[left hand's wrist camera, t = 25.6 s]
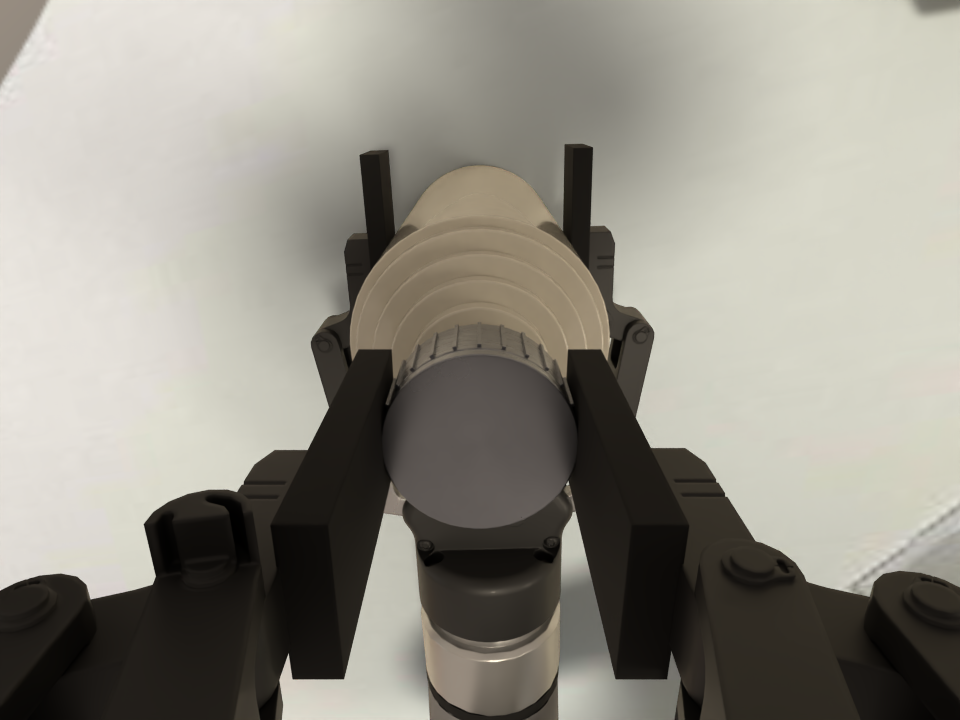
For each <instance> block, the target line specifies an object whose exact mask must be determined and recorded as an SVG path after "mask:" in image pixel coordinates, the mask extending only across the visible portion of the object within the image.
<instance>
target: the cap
mask: <svg viewBox="0 0 960 720" xmlns="http://www.w3.org/2000/svg"><path fill="white" fill-rule="evenodd" d="M574 406H575V405H574V402H573V398H572V395H571V392H570V389H569V386H568V383H567V380H566V377H564V378H563V377H562V375H561V372H560V368H559V365H558V362H557V360H556V359H554V360H553V359H552V358H551V357H550V355H549V354H548V353H547V352H546V351H545V350H544V346H543V345H542V344H541V343H540V344H537V343H536V342H534V341H533V340H532V339H530V338H529V337H527V336H526V335H525V333H524V332H521V333H519V332H517V331H514V330H511V329H509V328H505V327H504V325H502V324H500V326H496V325H487V324H481V322H477V324H471V325H464V326H459V325H455V328H451V329H448V330H446V331H443V332H441V333H437V332H435V333H434V335H433V337H431V338H429V339H428V340H426V341H425V342H424V343H422V344H421V345H419V344H417V345H416V347H415V351H414V352H413V353H412V354H411V355H410V356H409V357H408V359H407V360H406V361H405V360H403V361H402V363H401V366H400V370H399V373H398V376H397V379H396V378H394V379H393V382H392V385H391V388H390V391H389V394H388V397H387V400H386V403H385V407H386V408H387V410H386V413H385V416H384V420H383V424H382V446H383V461H384V465H385V468H386V470H387V473H388V475H389V477H390V479H391V481H392V482H393V484H394V486H395V487H396V488H397V490H398V491H399V492H400V494H401V495H402V496H403V497H404V498H405V499H406V500H407V501H408V502H409V503H410V504H411V505H413V506H414V507H415V508H417V509H418V510H419V511H421V512H422V513H424V514H426V515H427V516H429V517H431V518H434V519H436V520H438V521H440V522H443V523H446V524H449V525H453V526H458V527H463V528H473V529H488V528H496V527H502V526H506V525H510V524H513V523H516V522H519V521H522V520H524V519H526V518H528V517H530V516H532V515H534V514H536V513H537V512H539V511H540V510H542V509H543V508H545V507H546V506H547V505H548V504H549V503H550V502H552V501H553V500H554V499H555V498H556V496H557V495H558V494H559V493H560V492H561V491H562V489H563V488H564V486H565V485H566V484H567V482H568V480H569V478H570V476H571V474H572V472H573V470H574V467H575V464H576V456H577V441H578V426H577V422H576V418H575V414H574V411H573V408H572V407H574Z"/></svg>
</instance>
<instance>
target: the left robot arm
mask: <svg viewBox="0 0 960 720" xmlns="http://www.w3.org/2000/svg"><path fill="white" fill-rule="evenodd" d="M566 380H567V383H568V386H569V389H570V392H571V395H572V398H573V402H574V405H575V406H574V407H572V408H573V411H574V414H575V418H576V422H577V426H578V441H577V456H576V464H575V467H574V470H573V472H572V474H571V476H570V478H569V480H568V481H569V485H570V489H571V493H572V497H573V502H574V506H575V510H576V514H577V519H578V523H579V527H580V531H581V535H582V540H583V544H584V548H585V552H586V556H587V561H588V565H589V569H590V573H591V578H592V582H593V586H594V590H595V594H596V599H597V603H598V607H599V611H600V615H601V620H602V624H603V628H604V632H605V637H606V641H607V645H608V649H609V653H610V658H611V662H612V666H613V670H614V674H615V679H667V676H668V669H669V662H670V655H671V651H672V654H673V657H674V660H675V662H676V665H677V668H678V671H679V674H680V677H681V682H680V688H679V695H678V701H677V708H676V714H675V720H960V588H959V587H957V586H955V585H953V584H951V583H949V582H947V581H945V580H943V579H940V578H937V577H932V576H930V575H926V574H922V573H916V572H905V571H897V572H891V573H886V574H883V575H882V576H880V577H879V578H878V579H877V580H876V581H875V582H874V584H873V588H872V591H871V595H870V597H867V596H863V595H858V594H853V593H849V592H844V591H839V590H835V589H830V588H826V587H822V586H819V585H815V584H812V583H808V582H806V579H805V577H804V575H803V573H802V572H801V571H800V569H799V568H798V566H797V565H796V563H795V562H794V561H792V560H791V559H790V558H788V557H787V556H786V555H784V554H783V553H782V552H780V551H778V550H776V549H774V548H772V547H770V546H767V545H765V544H763V543H760V542H756V541H755V540H754V538H753V537H752V535H751V533H750V532H749V530H748V529H747V527H746V526H745V524H744V522H743V521H742V519H741V518H740V516H739V515H738V513H737V511H736V510H735V508H734V507H733V505H732V504H731V502H730V500H729V499H728V497H725V493H724V491H723V489H722V488H721V486H720V485H719V483H716V478H715V477H714V475H713V474H712V472H711V471H710V469H709V467H708V466H707V464H706V463H705V462H704V461H702V460H701V459H700V458H698V457H697V456H695V455H694V454H693V453H691V452H690V451H688V450H687V449H686V448H651V447H650V445H649V444H648V442H647V440H646V438H645V436H644V434H643V432H642V430H641V428H640V426H639V424H638V422H637V420H636V418H635V416H634V414H633V412H632V410H631V408H630V406H629V404H628V402H627V400H626V398H625V396H624V394H623V392H622V390H621V388H620V386H619V384H618V382H617V380H616V378H615V376H614V374H613V372H612V370H611V368H610V366H609V364H608V362H607V360H606V358H605V356H604V354H603V352H602V350H601V349H568V357H567V375H566ZM392 382H393V362H392V349H358V351H357V353H356V355H355V357H354V359H353V361H352V363H351V365H350V367H349V369H348V371H347V373H346V375H345V377H344V379H343V381H342V383H341V385H340V387H339V389H338V391H337V393H336V395H335V397H334V399H333V401H332V403H331V405H330V407H329V409H328V411H327V413H326V415H325V417H324V419H323V421H322V423H321V425H320V427H319V429H318V431H317V433H316V435H315V437H314V439H313V441H312V443H311V445H310V447H309V449H308V450H274V451H273V452H272V453H270V454H269V455H267V456H266V457H265V458H263V459H262V460H260V461H259V462H258V463H256V464H255V465H254V466H253V468H252V469H251V471H250V473H249V474H248V476H247V477H246V479H245V481H244V485H241V487H240V488H239V490H238V492H234V491H230V490H205V491H201V492H196V493H191V494H187V495H185V496H182V497H180V498H177V499H175V500H172V501H170V502H168V503H166V504H165V505H163V506H162V507H160V508H159V509H157V510H156V511H154V512H153V513H152V515H151V516H150V517H149V518H148V520H147V521H146V522H145V523H144V527H145V531H146V536H147V540H148V544H149V549H150V553H151V557H152V561H153V566H154V570H155V574H156V578H155V580H154V583H153V585H150V586H147V587H143V588H140V589H136V590H133V591H128V592H123V593H119V594H114V595H110V596H105V597H100V598H96V599H91V600H90V596H89V593H88V589H87V586H86V584H85V583H84V582H83V581H81V580H80V579H79V578H78V577H76V576H71V575H65V574H52V575H42V576H37V577H34V578H29V579H27V580H23V581H20V582H17V583H15V584H13V585H11V586H9V587H7V588H5V589H3V590H1V591H0V720H282V711H283V701H282V695H281V688H280V682H279V679H280V676H281V673H282V670H283V667H284V665H285V662H286V659H287V656H288V653H289V658H290V665H291V671H292V678H293V679H344V677H345V673H346V669H347V665H348V660H349V656H350V652H351V648H352V644H353V639H354V635H355V631H356V627H357V623H358V618H359V614H360V610H361V606H362V601H363V597H364V593H365V589H366V585H367V580H368V576H369V572H370V568H371V564H372V559H373V555H374V551H375V547H376V542H377V538H378V534H379V530H380V526H381V521H382V517H383V513H384V509H385V505H386V500H387V496H388V492H389V488H390V484H391V479H390V477H389V475H388V473H387V470H386V468H385V465H384V461H383V446H382V424H383V420H384V416H385V413H386V410H387V408H386V407H385V403H386V400H387V397H388V394H389V391H390V388H391V385H392Z"/></svg>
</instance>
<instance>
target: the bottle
mask: <svg viewBox="0 0 960 720" xmlns="http://www.w3.org/2000/svg"><path fill="white" fill-rule="evenodd" d="M477 322H481V324H487V325H496V326H500V324H502V325H504V327H505V328H509V329H511V330H514V331H517V332H519V333H521V332H524V333H525V335H526V336H527V337H529V338H530V339H532V340H533V341H534V342H536V343H537V344H540V343H541V344H542V345H543V346H544V350H545V351H546V352H547V353H548V354H549V355H550V357H551V358H552V359H553V360H554V359H556V360H557V362H558V365H559V368H560V372H561V375H562V377H563V378H564V377H566V375H567V357H568V349H601V350H602V352H603V354H604V356H605V358H606V360H608V354H609V343H610V330H609V321H608V315H607V311H606V307H605V303H604V300H603V297H602V295H601V292H600V290H599V288H598V285H597V284H596V282H595V280H594V279H593V277H592V275H591V273H590V272H589V270H588V269H587V267H586V266H585V264H584V263H583V261H582V260H581V258H580V257H579V255H578V254H577V252H576V251H575V249H574V248H573V246H572V245H571V243H570V242H569V240H568V239H567V237H566V236H565V234H564V233H563V231H562V230H561V228H560V227H559V225H558V224H557V222H556V221H555V219H554V218H553V216H552V215H551V213H550V212H549V211H548V209H547V208H546V206H545V205H544V203H543V202H542V200H541V199H540V197H539V196H538V194H537V193H536V192H535V191H534V189H533V188H532V187H531V186H530V185H529V184H528V183H527V182H525V181H524V180H523V179H521V178H520V177H518V176H517V175H515V174H513V173H511V172H509V171H506V170H504V169H501V168H497V167H493V166H484V165H476V166H467V167H462V168H459V169H456V170H453V171H451V172H449V173H447V174H445V175H443V176H442V177H440V178H439V179H437V180H436V181H435V182H434V183H432V184H431V185H430V186H429V187H428V188H427V189H426V191H425V192H424V193H423V194H422V196H421V197H420V199H419V200H418V202H417V203H416V205H415V206H414V208H413V209H412V210H411V212H410V213H409V215H408V216H407V218H406V219H405V221H404V222H403V224H402V225H401V227H400V228H399V230H398V231H397V233H396V234H395V236H394V237H393V239H392V240H391V242H390V243H389V245H388V246H387V248H386V249H385V251H384V252H383V254H382V255H381V257H380V258H379V260H378V261H377V263H376V264H375V266H374V267H373V269H372V270H371V272H370V273H369V275H368V276H367V278H366V279H365V281H364V283H363V285H362V287H361V290H360V292H359V294H358V296H357V299H356V303H355V306H354V309H353V313H352V320H351V326H350V348H351V355H352V361H353V359H354V357H355V355H356V353H357V351H358V349H392V362H393V379H394V378H396V379H397V376H398V373H399V370H400V366H401V363H402V361H403V360H405V361H406V360H407V359H408V357H409V356H410V355H411V354H412V353H413V352H414V351H415V347H416V345H417V344H419V345H421V344H422V343H424V342H425V341H426V340H428V339H429V338H431V337H433V335H434V333H435V332H437V333H441V332H443V331H446V330H448V329H451V328H455V325H459V326H464V325H471V324H477Z"/></svg>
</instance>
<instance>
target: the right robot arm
mask: <svg viewBox="0 0 960 720" xmlns="http://www.w3.org/2000/svg"><path fill="white" fill-rule="evenodd" d="M592 160H593V147H590V146H587V145H584V144H565V157H564V214H563V233H564V234H565V236H566V237H567V239H568V240H569V242H570V243H571V245H572V246H573V248H574V249H575V251H576V252H577V254H578V255H579V257H580V258H581V260H582V261H583V263H584V264H585V266H586V267H587V269H588V270H589V272H590V273H591V275H592V277H593V279H594V280H595V282H596V284H597V285H598V288H599V290H600V292H601V295H602V297H603V300H604V303H605V307H606V311H607V315H608V321H609V330H610V338H611V343H610V348H609V354H608V360H607V362H608V364H609V366H610V368H611V370H612V372H613V374H614V376H615V378H616V380H617V382H618V384H619V386H620V388H621V390H622V392H623V394H624V396H625V398H626V400H627V402H628V404H629V406H630V408H631V410H632V412H633V414H634V416H635V418H636V413H637V409H638V405H639V400H640V396H641V392H642V387H643V383H644V379H645V375H646V370H647V366H648V362H649V357H650V353H651V349H652V345H653V340H654V331H653V329H652V327H651V326H650V325H649V323H648V322H647V321H646V319H645V318H644V317H643V316H642V314H641V313H640V312H639V311H638V310H637V309H636V308H633V307H624V306H620V305H617V304H615V303H613V299H612V295H613V274H614V253H615V242H614V240H613V237H612V234H611V232H610V231H609V230H608V229H607V228H606V227H605V226H590V220H591V190H592ZM360 165H361V175H362V185H363V196H364V206H365V216H366V227H367V233H354V234H353V235H352V236H351V237H350V238H349V239H348V240H347V244H346V247H345V251H344V254H345V263H346V272H347V281H348V290H349V299H350V310H349V311H348V312H346V313H343V314H340V315H333V316H330V317H328V318H327V319H326V320H325V321H324V323H323V324H322V325H321V327H320V328H319V330H318V331H317V332H316V334H315V335H314V336H313V338H312V341H311V348H312V351H313V355H314V358H315V361H316V365H317V368H318V371H319V375H320V378H321V381H322V385H323V388H324V392H325V395H326V398H327V402H328V405H329V407H330V405H331V403H332V401H333V399H334V397H335V395H336V393H337V391H338V389H339V387H340V385H341V383H342V381H343V379H344V377H345V375H346V373H347V371H348V369H349V367H350V365H351V363H352V355H351V348H350V326H351V320H352V313H353V309H354V306H355V303H356V299H357V296H358V294H359V292H360V290H361V287H362V285H363V283H364V281H365V279H366V278H367V276H368V275H369V273H370V272H371V270H372V269H373V267H374V266H375V264H376V263H377V261H378V260H379V258H380V257H381V255H382V254H383V252H384V251H385V249H386V248H387V246H388V245H389V243H390V242H391V240H392V239H393V237H394V236H395V227H394V215H393V202H392V190H391V178H390V165H389V153H388V150H379V151H369V152H366V153H364V154H361V155H360ZM575 511H576V510H575V506H574V502H573V497H572V493H571V489H570V485H565V486H564V488H563V489H562V491H561V492H560V493H559V494H558V495H557V496H556V498H555V499H554V500H553V501H552V502H550V503H549V504H548V505H547V506H546V507H545V508H543V509H542V510H540V511H539V512H537V513H536V514H534V515H532V516H530V517H528V518H526V519H524V520H522V521H519V522H516V523H513V524H510V525H506V526H502V527H496V528H488V529H473V528H463V527H458V526H453V525H449V524H446V523H443V522H440V521H438V520H436V519H434V518H431V517H429V516H427V515H426V514H424V513H422V512H421V511H419V510H418V509H417V508H415V507H414V506H413V505H411V504H410V503H409V502H408V501H407V500H406V499H405V498H404V497H403V496H402V495H401V494H400V492H399V491H398V490H397V488H396V487H395V486H394V484H393V482H392V481H391V484H390V488H389V492H388V496H387V500H386V505H385V509H384V513H386V514H393V515H400V516H403V519H404V521H405V523H406V524H407V526H408V527H409V528H410V529H411V531H412V533H413V535H414V538H415V544H416V556H417V568H418V580H419V592H420V600H421V604H422V609H421V618H422V628H423V638H424V648H425V658H426V671H427V678H428V688H429V710H430V720H558V666H559V659H560V602H559V599H560V592H561V546H562V533H563V530H564V527H565V526H566V524H567V523H568V521H569V520H570V518H571V516H572V512H575Z"/></svg>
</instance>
